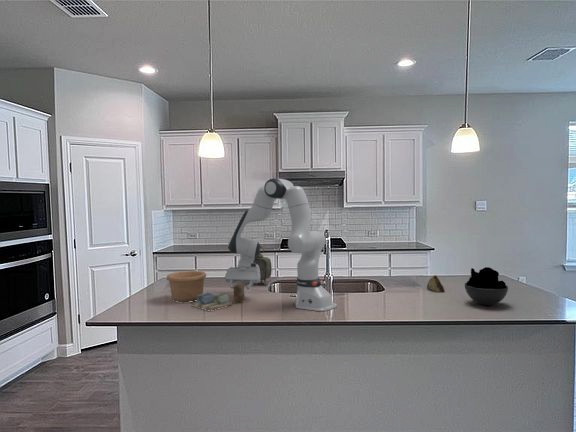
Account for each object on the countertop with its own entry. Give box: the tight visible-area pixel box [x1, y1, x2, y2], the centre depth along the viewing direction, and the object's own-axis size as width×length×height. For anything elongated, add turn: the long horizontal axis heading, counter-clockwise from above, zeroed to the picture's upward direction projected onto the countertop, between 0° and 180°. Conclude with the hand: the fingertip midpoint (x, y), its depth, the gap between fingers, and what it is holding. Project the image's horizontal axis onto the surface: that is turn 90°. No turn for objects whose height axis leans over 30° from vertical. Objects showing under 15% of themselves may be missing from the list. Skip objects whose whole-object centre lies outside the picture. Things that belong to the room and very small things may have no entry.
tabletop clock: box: [253, 246, 273, 286], centre depth 266 cm, size 14×9×25 cm, turn 67°
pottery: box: [166, 270, 207, 302], centre depth 230 cm, size 22×22×14 cm
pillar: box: [233, 284, 245, 304], centre depth 221 cm, size 4×4×9 cm
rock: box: [426, 274, 446, 293], centre depth 238 cm, size 11×9×10 cm
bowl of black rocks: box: [464, 266, 509, 306], centre depth 206 cm, size 20×20×19 cm
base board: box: [191, 292, 233, 312], centre depth 215 cm, size 16×14×6 cm
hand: (240, 288), depth 223 cm, fingers open, 8 cm apart
